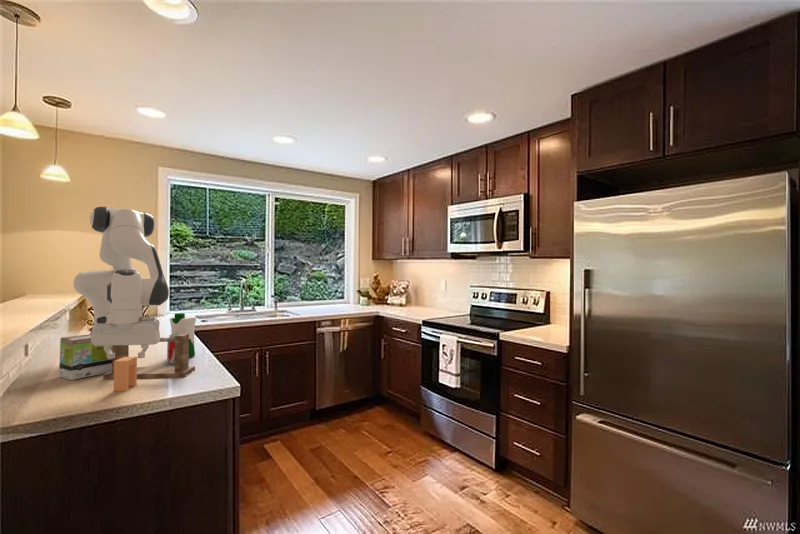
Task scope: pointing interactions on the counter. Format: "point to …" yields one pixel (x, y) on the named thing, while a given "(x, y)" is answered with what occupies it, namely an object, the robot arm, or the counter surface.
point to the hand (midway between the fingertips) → (126, 358)
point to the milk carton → (184, 328)
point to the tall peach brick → (125, 373)
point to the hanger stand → (147, 372)
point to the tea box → (82, 358)
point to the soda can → (171, 350)
